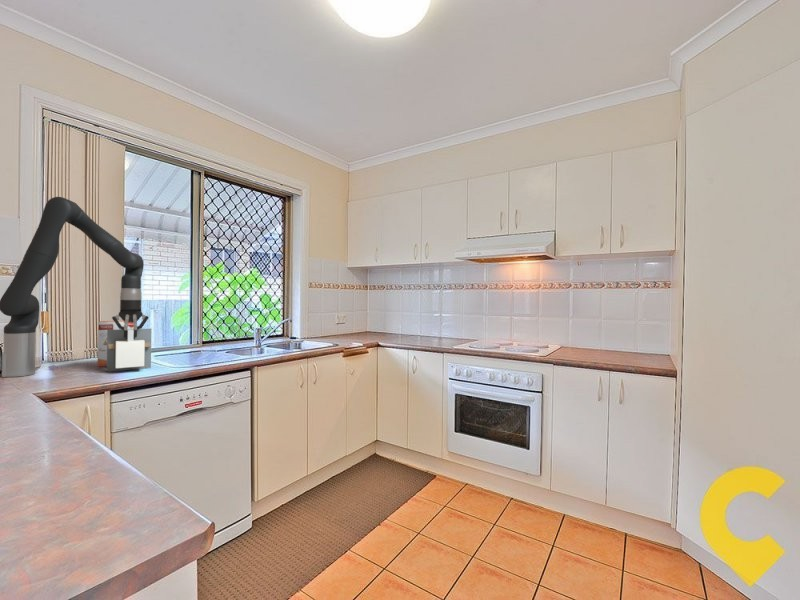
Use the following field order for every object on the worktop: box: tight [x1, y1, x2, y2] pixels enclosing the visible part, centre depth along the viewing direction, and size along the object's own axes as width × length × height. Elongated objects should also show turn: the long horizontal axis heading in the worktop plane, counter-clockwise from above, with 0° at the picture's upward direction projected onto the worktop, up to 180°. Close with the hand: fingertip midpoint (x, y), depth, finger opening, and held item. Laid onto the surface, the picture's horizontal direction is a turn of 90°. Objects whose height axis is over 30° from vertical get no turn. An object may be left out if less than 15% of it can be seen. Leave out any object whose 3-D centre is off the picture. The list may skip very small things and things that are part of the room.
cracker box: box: [97, 320, 134, 368], centre depth 179 cm, size 14×6×21 cm, turn 121°
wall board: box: [106, 328, 152, 373], centre depth 170 cm, size 16×8×18 cm, turn 128°
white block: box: [115, 329, 145, 368], centre depth 165 cm, size 10×7×16 cm
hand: (130, 338), depth 165 cm, fingers closed on white block, 2 cm apart
